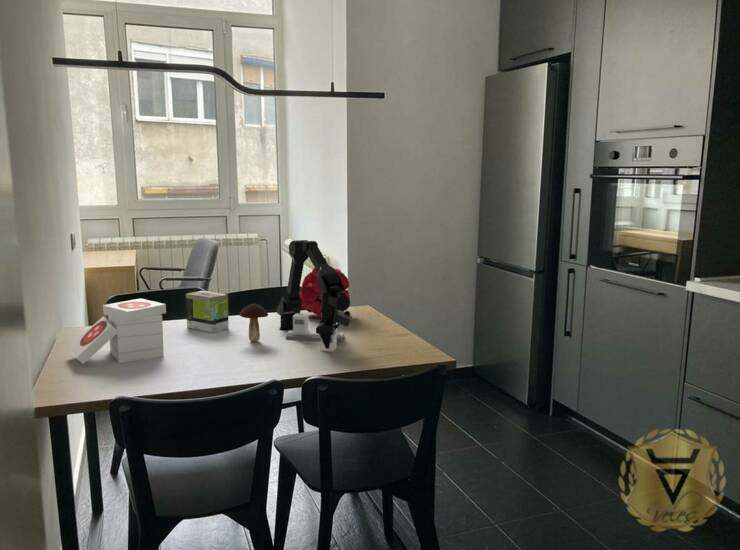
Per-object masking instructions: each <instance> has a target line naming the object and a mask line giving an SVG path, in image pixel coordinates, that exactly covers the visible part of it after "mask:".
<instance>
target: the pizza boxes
mask: <svg viewBox="0 0 740 550" xmlns="http://www.w3.org/2000/svg"><path fill="white" fill-rule="evenodd" d="M166 305H167V304H166V303H163V302H162V303H161V302H158V301H154V300H148V299H146V298H136V299H130V300H125V301H118V302H113V303H112V302H111V303H108V304H102V309H103V310H102V311H103V316H102V317H100V318H99V319H98V320H97V321H96V322H95V323H94V324H93V325H91V326H90V327H89V328H88V329H87V330H86V331H85V332H84V333H83V334H81V336H79V337H78V338H77V339H76V340H75V341H74V342H73V343H71V344H70V345H69V349H70V350H71V352H72V353H73V355H74V357H75V359H77V360H78V361H79V362H80V363H81V364H83V365H84V364H85V363H87V361H88V360H90V359H91V358H92V357H93V356H94V355H95V354H96V353H97V352H98V351H99V350H100V349H102V348H103V347H104V346H105V345H106V344H107V343H108V342H109V352H110V353H111V354H112V355H113V357H114V358H115V360H116V361H117V362H118V364H120V363H121V364H122V363H128V362H133V361H134V362H135V361H141V360H148V359H153V358H154V359H155V358H161V357H164V355H165V353H164V352H165V351H164V334H163V333H164V332H163V331H164V330H163V329H164V328H163V314H167V306H166ZM104 315H106V316H108V317H107V318H108V319H107V318H106V317H105V316H104Z"/></svg>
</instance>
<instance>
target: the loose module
mask: <svg viewBox="0 0 740 550" xmlns="http://www.w3.org/2000/svg"><path fill="white" fill-rule="evenodd" d="M337 344H338V342H337V332H335V333H334V334H333V335H331V340H330V345H329V349H326V347H325V345H324V343H323V341H322V339H321V341H320V352H321V351H324V352H335V351H336V349H337V348H336V347H338V346H337ZM334 350H335V351H334Z"/></svg>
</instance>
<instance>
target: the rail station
mask: <svg viewBox="0 0 740 550" xmlns="http://www.w3.org/2000/svg"><path fill="white" fill-rule="evenodd" d="M322 324H324V323H322ZM336 324H337V325H339V324H338V323H337V322H336ZM338 330H339V327H338V328H337V329H336V330H335V332H337V343H341V342H342V341H343V340H344V338H345V333H344V332H339V331H338ZM285 339H286V340H294V339H297V340H298V341H299V340H300V341H313V342H314V341H315V342H316V341H317V342H321V337H320V335H319V334H317V333H316V331H313V330H311V331H309V313H301V312H300V313H296V314H295V315H294V316H293V330H287V334H286V335H285ZM342 339H343V340H342Z"/></svg>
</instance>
